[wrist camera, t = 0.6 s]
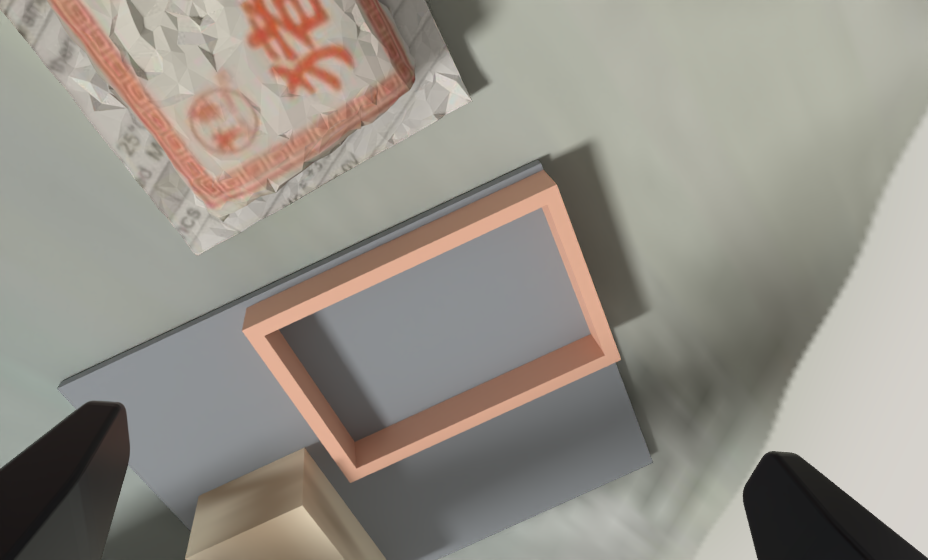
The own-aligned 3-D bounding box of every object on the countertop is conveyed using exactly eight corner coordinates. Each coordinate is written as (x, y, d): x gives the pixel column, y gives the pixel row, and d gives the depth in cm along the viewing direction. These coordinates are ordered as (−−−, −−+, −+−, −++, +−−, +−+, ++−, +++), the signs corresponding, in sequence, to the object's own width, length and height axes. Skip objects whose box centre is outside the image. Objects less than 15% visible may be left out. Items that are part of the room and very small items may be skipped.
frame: (348, 455, 27) (350, 482, 25) (246, 308, 23) (241, 330, 22) (606, 338, 26) (621, 359, 25) (543, 169, 23) (557, 184, 22)
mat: (282, 621, 31) (282, 629, 30) (60, 381, 24) (56, 388, 23) (649, 456, 30) (653, 462, 30) (537, 159, 23) (541, 163, 23)
